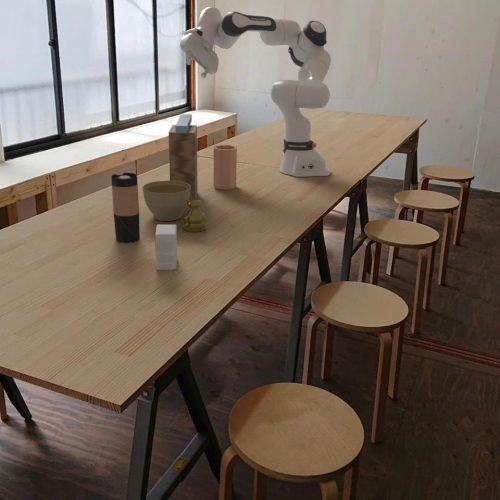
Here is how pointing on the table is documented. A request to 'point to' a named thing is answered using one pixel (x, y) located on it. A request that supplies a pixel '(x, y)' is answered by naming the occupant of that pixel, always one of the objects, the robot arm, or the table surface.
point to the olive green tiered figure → (194, 217)
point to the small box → (166, 247)
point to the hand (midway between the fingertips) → (195, 70)
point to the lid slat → (183, 123)
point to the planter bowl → (166, 199)
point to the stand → (184, 157)
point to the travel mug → (126, 207)
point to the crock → (225, 167)
